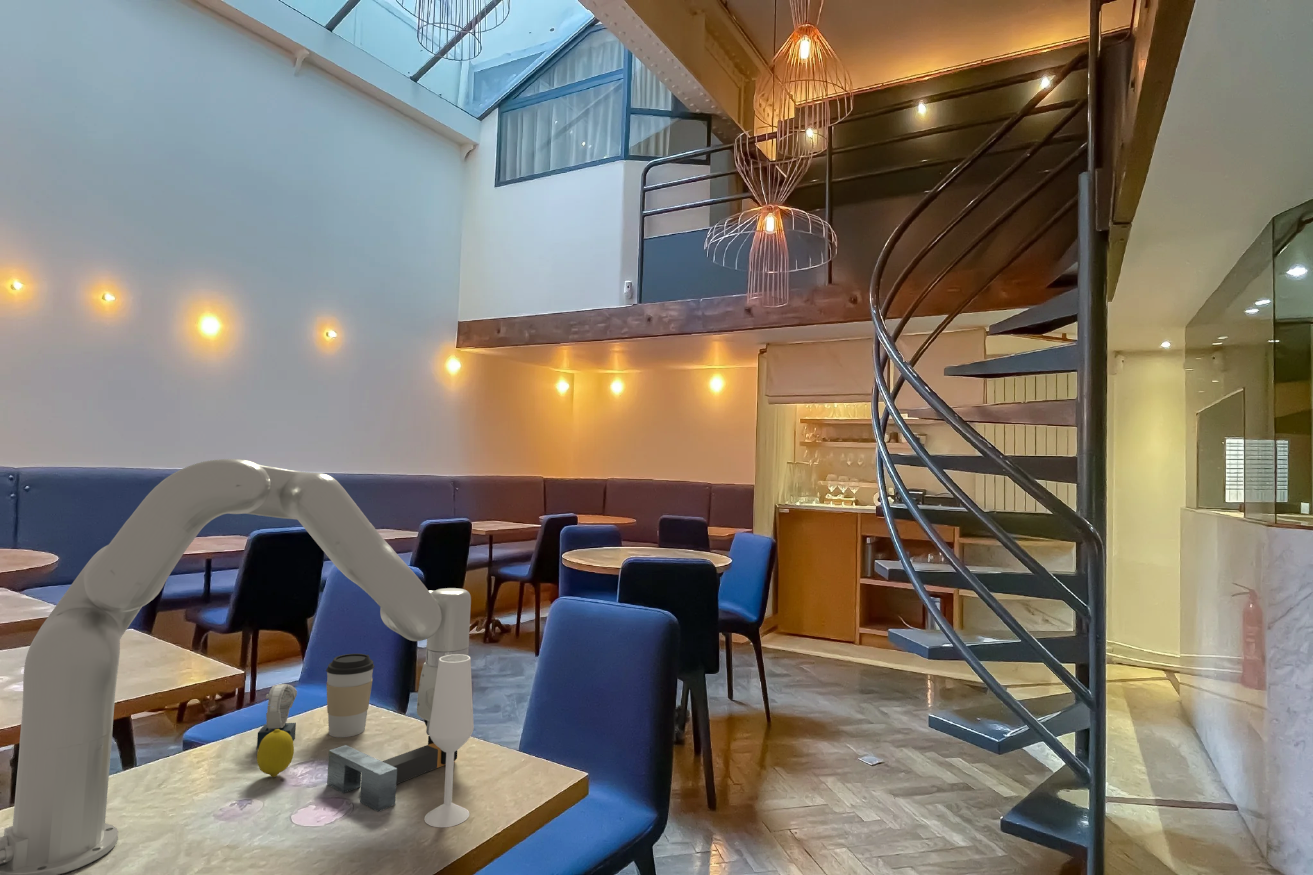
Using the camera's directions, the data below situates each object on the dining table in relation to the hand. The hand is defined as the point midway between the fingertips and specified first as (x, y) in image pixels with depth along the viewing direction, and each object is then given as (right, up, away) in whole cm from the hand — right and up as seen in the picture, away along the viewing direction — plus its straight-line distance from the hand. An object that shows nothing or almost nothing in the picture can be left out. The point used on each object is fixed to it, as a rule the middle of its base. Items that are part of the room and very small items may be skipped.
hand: (442, 757), depth 123 cm
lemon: (-26, 0, -8) cm, 28 cm away
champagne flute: (+7, 0, -19) cm, 21 cm away
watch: (-34, 0, +6) cm, 34 cm away
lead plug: (-4, 0, -5) cm, 7 cm away
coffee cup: (-24, -1, +13) cm, 27 cm away
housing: (-9, 0, -13) cm, 16 cm away
